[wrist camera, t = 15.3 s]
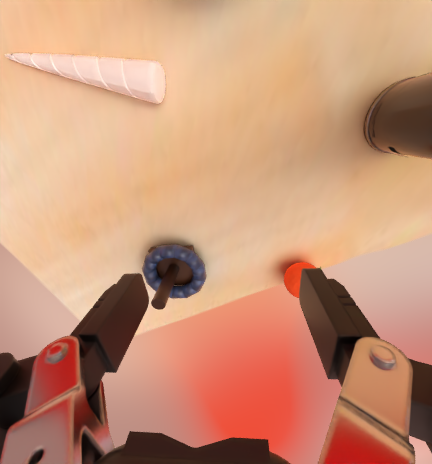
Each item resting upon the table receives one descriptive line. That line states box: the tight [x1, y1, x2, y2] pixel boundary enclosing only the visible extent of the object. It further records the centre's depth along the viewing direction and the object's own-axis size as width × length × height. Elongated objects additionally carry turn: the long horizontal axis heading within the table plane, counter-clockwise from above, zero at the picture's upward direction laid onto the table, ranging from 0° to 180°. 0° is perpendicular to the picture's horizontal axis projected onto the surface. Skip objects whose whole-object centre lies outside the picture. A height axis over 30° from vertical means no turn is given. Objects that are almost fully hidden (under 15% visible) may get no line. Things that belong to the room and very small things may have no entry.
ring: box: [142, 244, 206, 298], centre depth 42 cm, size 13×13×3 cm
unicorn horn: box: [4, 53, 166, 104], centre depth 28 cm, size 5×24×5 cm, turn 77°
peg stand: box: [149, 246, 194, 309], centre depth 40 cm, size 9×9×12 cm
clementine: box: [284, 262, 321, 298], centre depth 40 cm, size 8×7×7 cm
